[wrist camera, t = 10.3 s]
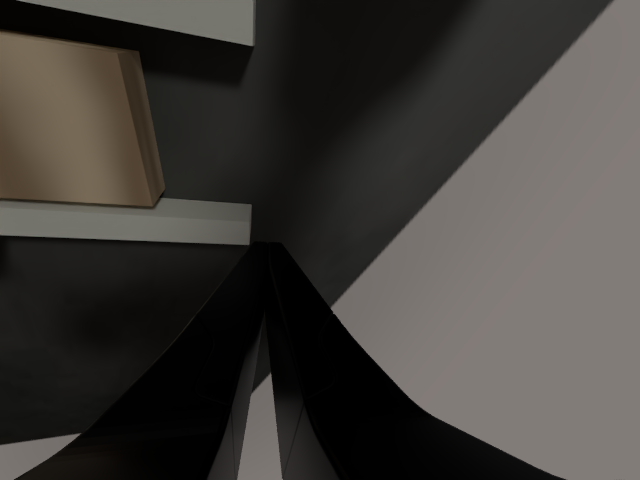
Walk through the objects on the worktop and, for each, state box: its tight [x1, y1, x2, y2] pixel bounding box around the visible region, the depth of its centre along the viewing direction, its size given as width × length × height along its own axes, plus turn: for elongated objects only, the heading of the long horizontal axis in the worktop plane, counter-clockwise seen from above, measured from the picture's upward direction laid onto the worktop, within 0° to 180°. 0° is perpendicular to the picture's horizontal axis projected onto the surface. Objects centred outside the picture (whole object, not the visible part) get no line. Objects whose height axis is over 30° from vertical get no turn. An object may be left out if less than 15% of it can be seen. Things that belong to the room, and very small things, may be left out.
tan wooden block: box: [0, 29, 165, 206], centre depth 14 cm, size 13×8×3 cm, turn 81°
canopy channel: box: [0, 0, 256, 245], centre depth 13 cm, size 20×14×6 cm
